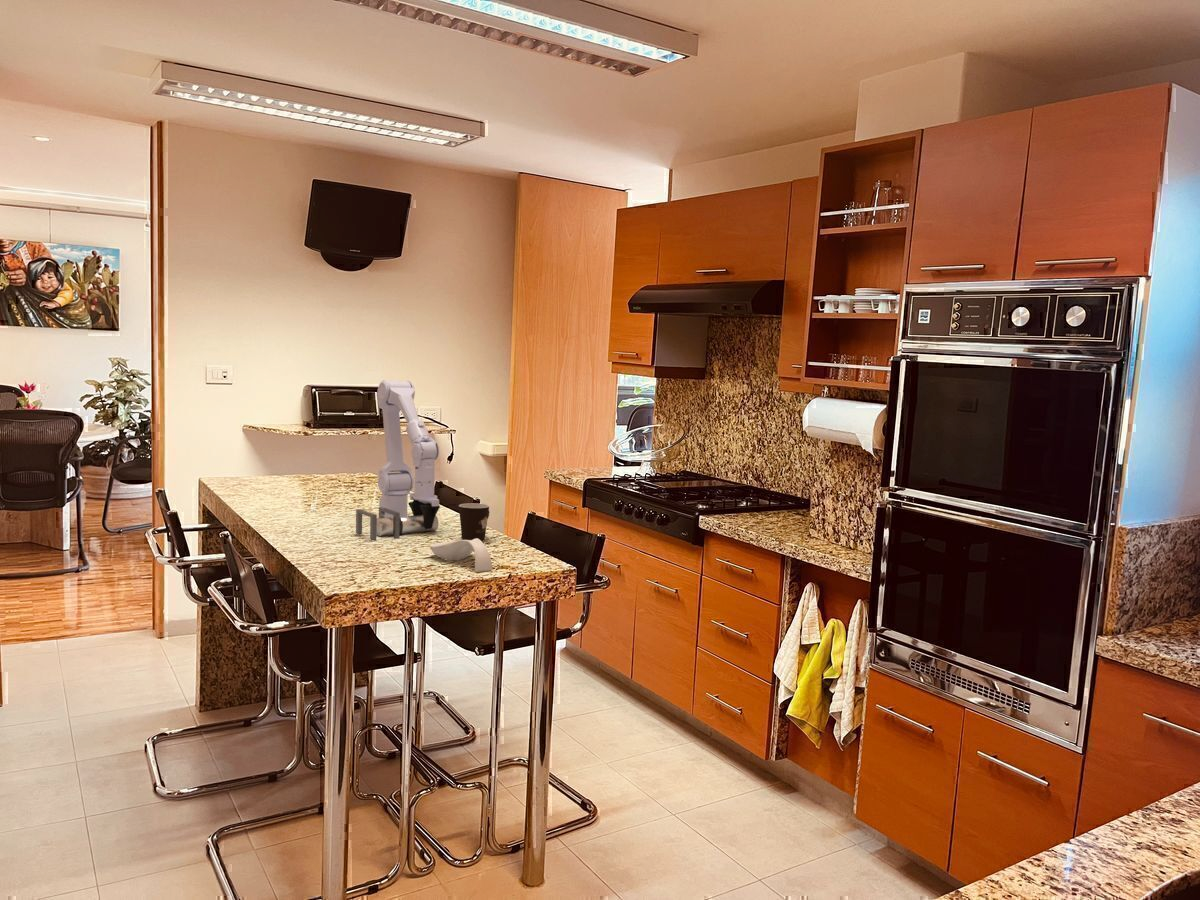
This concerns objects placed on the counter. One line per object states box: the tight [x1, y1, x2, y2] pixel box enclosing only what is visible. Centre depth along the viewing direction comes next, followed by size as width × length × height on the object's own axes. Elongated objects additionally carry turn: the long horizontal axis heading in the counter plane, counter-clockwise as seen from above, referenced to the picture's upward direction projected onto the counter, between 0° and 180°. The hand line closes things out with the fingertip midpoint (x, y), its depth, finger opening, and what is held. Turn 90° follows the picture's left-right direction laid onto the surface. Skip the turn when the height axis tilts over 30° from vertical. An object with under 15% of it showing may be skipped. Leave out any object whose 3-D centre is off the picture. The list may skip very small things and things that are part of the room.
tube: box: [376, 515, 439, 537], centre depth 263 cm, size 18×5×5 cm, turn 129°
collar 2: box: [378, 506, 400, 539], centre depth 260 cm, size 11×1×7 cm, turn 39°
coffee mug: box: [458, 502, 490, 542], centre depth 258 cm, size 12×9×10 cm
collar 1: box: [355, 508, 378, 541], centre depth 255 cm, size 11×1×7 cm, turn 39°
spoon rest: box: [429, 538, 493, 573], centre depth 229 cm, size 24×12×7 cm, turn 36°
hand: (423, 526), depth 267 cm, fingers closed on tube, 5 cm apart
